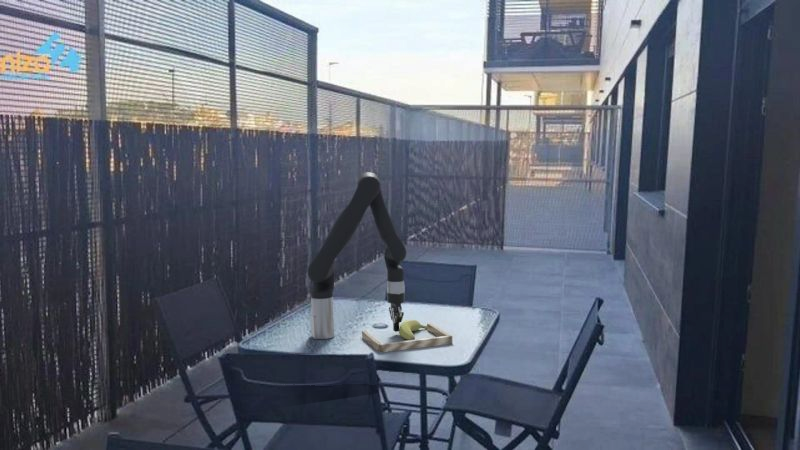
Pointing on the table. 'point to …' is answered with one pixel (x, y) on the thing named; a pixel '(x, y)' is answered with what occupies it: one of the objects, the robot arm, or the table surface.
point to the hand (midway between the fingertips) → (396, 331)
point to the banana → (409, 329)
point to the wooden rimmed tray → (410, 341)
